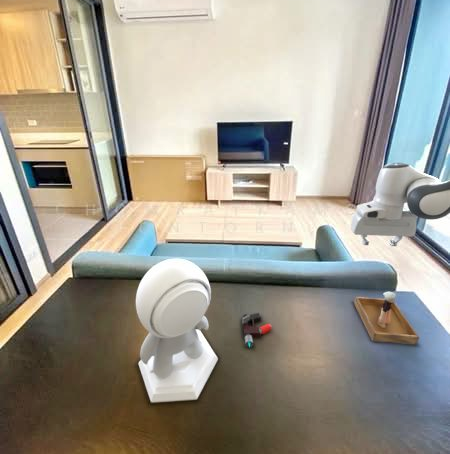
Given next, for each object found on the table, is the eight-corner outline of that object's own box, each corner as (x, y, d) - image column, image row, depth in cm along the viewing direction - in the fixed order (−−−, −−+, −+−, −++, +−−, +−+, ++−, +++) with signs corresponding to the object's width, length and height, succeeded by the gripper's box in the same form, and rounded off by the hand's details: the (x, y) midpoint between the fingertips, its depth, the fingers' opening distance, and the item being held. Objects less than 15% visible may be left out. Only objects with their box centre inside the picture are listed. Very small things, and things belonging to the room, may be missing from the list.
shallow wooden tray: (390, 306, 92) (393, 299, 91) (416, 345, 78) (419, 337, 77) (353, 303, 93) (355, 296, 92) (372, 341, 79) (374, 333, 78)
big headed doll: (158, 427, 59) (141, 315, 46) (133, 348, 76) (115, 253, 64) (228, 377, 69) (230, 274, 56) (191, 318, 87) (186, 231, 74)
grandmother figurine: (389, 332, 81) (398, 302, 77) (375, 327, 83) (384, 297, 79) (389, 316, 87) (398, 287, 83) (376, 311, 89) (384, 283, 85)
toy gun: (244, 350, 76) (244, 339, 74) (240, 317, 87) (240, 307, 86) (275, 349, 76) (276, 338, 75) (267, 316, 88) (268, 306, 86)
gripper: (413, 206, 87) (404, 241, 91) (352, 205, 89) (346, 239, 93) (425, 214, 81) (415, 251, 85) (359, 212, 83) (353, 248, 87)
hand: (378, 245), depth 89 cm, fingers open, 8 cm apart
